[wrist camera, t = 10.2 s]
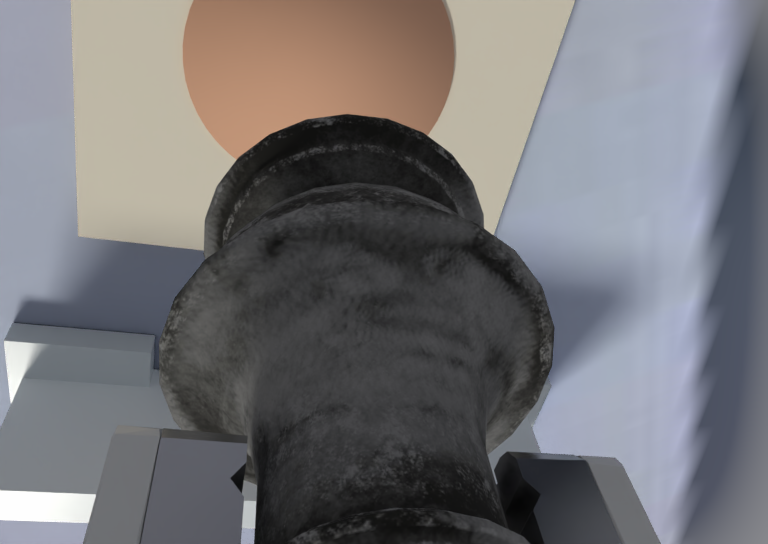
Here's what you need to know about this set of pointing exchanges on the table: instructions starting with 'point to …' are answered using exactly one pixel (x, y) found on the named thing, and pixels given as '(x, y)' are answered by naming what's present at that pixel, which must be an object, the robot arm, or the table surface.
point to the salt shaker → (358, 337)
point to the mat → (290, 92)
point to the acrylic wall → (97, 418)
